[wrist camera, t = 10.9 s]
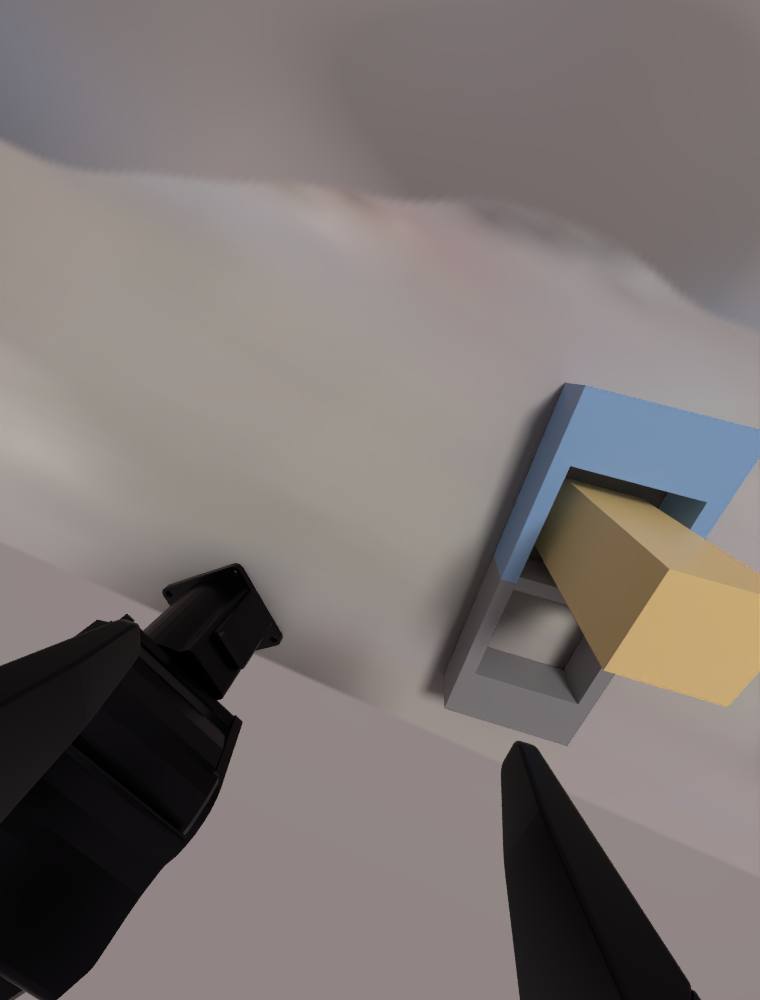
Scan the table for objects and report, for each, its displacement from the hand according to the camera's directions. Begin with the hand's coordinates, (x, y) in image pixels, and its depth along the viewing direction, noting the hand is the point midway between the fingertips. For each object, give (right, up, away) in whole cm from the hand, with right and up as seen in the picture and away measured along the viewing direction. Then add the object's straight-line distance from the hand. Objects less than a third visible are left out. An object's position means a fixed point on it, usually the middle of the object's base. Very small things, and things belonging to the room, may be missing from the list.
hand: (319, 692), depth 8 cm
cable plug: (+12, +3, +11) cm, 17 cm away
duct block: (+12, 0, +12) cm, 17 cm away
